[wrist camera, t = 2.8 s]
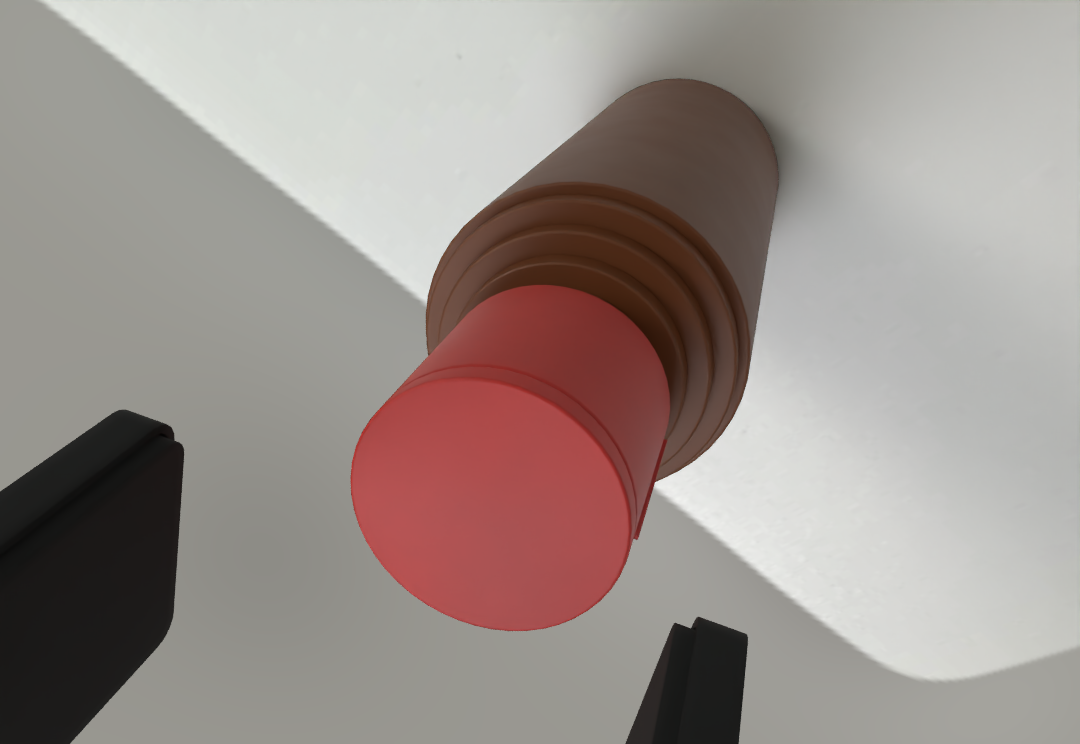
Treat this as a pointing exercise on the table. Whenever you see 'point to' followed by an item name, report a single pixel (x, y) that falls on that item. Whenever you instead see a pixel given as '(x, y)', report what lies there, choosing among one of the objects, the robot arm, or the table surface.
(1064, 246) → the table surface
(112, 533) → the robot arm
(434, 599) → the cap
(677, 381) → the bottle
